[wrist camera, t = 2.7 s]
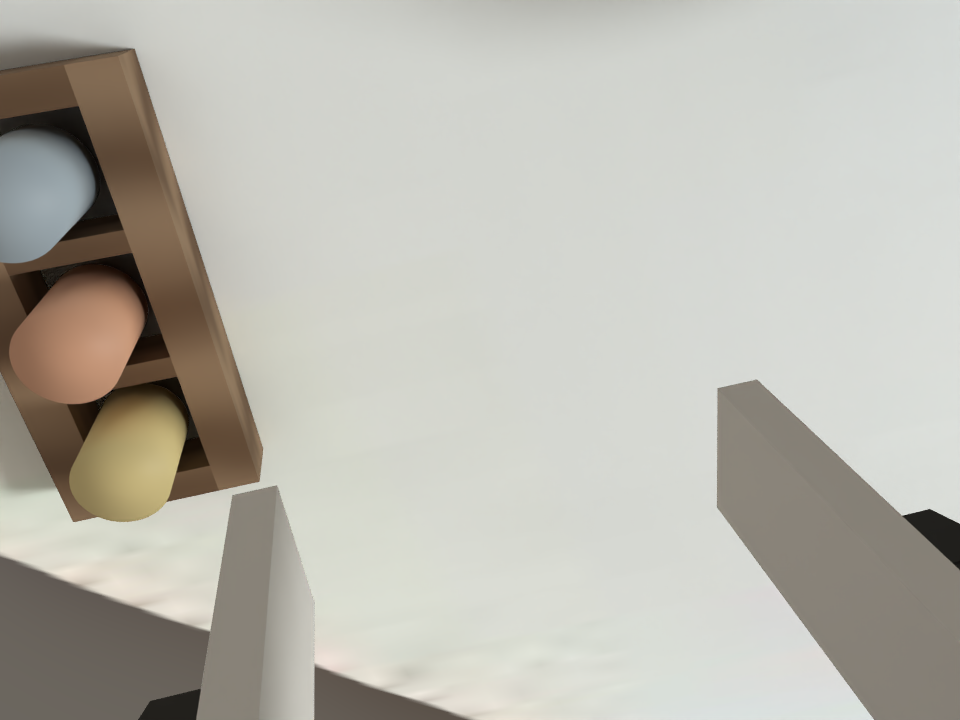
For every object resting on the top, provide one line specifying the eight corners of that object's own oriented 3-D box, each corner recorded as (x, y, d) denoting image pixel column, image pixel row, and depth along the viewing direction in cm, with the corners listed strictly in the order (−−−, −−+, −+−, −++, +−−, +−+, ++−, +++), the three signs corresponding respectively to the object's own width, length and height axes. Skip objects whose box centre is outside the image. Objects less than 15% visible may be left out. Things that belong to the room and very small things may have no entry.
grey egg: (-25, 133, 31) (-85, 162, 26) (79, 115, 31) (37, 141, 27) (17, 229, 33) (-33, 273, 28) (114, 211, 33) (81, 251, 29)
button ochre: (87, 392, 37) (53, 454, 32) (174, 375, 37) (153, 433, 32) (117, 462, 38) (89, 531, 34) (199, 444, 39) (183, 510, 34)
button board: (-95, 85, 31) (-133, 96, 29) (134, 49, 32) (118, 55, 30) (89, 486, 41) (73, 522, 38) (263, 448, 42) (259, 481, 39)
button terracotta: (36, 273, 34) (-9, 322, 29) (130, 256, 34) (101, 301, 30) (71, 355, 36) (34, 413, 31) (160, 337, 36) (137, 392, 31)
